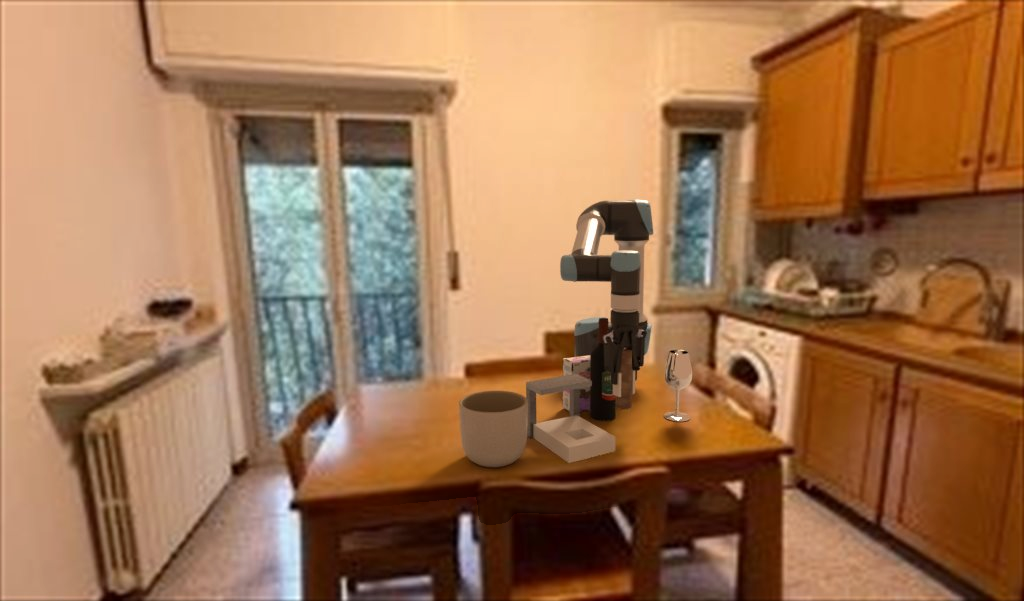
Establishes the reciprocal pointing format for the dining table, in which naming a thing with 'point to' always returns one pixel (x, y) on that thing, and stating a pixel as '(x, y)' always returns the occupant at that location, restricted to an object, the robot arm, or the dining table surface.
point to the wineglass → (678, 379)
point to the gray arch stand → (554, 386)
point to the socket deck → (573, 438)
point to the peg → (625, 380)
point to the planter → (493, 427)
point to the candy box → (583, 369)
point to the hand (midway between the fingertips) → (623, 393)
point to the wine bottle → (601, 381)
